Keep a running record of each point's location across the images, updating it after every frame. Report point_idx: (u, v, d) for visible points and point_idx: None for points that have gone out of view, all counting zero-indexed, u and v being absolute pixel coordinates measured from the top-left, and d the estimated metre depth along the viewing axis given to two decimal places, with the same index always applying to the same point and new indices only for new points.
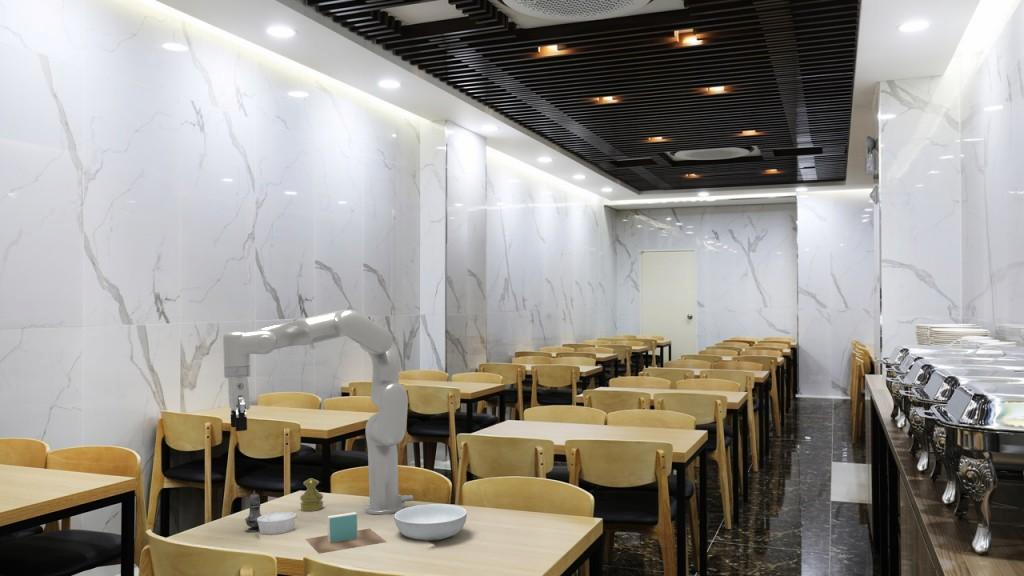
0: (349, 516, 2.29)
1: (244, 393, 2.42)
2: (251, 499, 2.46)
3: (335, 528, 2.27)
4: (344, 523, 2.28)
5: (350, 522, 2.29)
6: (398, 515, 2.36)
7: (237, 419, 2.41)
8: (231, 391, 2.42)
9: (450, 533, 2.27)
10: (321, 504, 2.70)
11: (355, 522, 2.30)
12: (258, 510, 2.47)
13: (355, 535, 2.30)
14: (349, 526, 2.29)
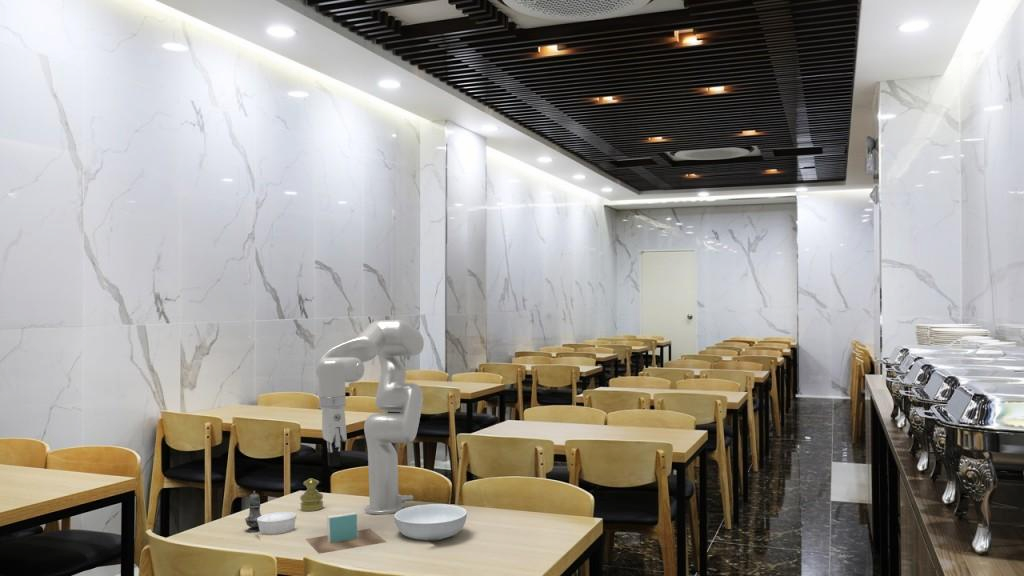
0: (349, 516, 2.29)
1: (341, 425, 2.32)
2: (251, 499, 2.46)
3: (335, 528, 2.27)
4: (344, 523, 2.28)
5: (350, 522, 2.29)
6: (398, 515, 2.36)
7: (331, 454, 2.35)
8: (327, 422, 2.32)
9: (450, 533, 2.27)
10: (321, 504, 2.70)
11: (355, 522, 2.30)
12: (258, 510, 2.47)
13: (355, 535, 2.30)
14: (349, 526, 2.29)
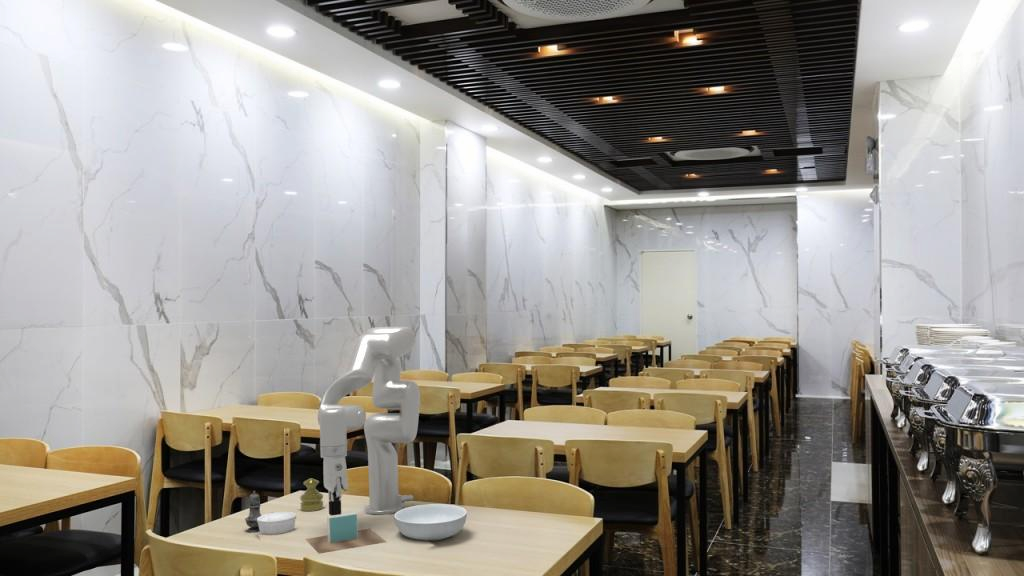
0: (349, 516, 2.29)
1: (342, 474, 2.32)
2: (251, 499, 2.46)
3: (335, 528, 2.27)
4: (344, 523, 2.28)
5: (350, 522, 2.29)
6: (398, 515, 2.36)
7: (332, 503, 2.34)
8: (329, 472, 2.32)
9: (450, 533, 2.27)
10: (321, 504, 2.70)
11: (355, 522, 2.30)
12: (258, 510, 2.47)
13: (355, 535, 2.30)
14: (349, 526, 2.29)
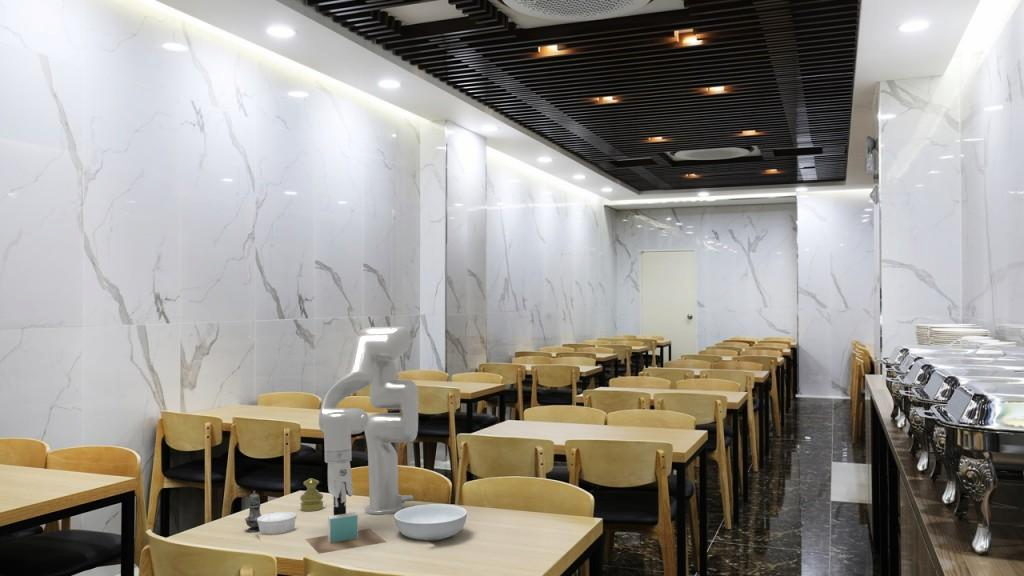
0: (350, 517, 2.28)
1: (347, 479, 2.27)
2: (251, 499, 2.46)
3: (335, 529, 2.27)
4: (345, 524, 2.28)
5: (351, 523, 2.29)
6: (398, 515, 2.36)
7: (336, 509, 2.30)
8: (333, 477, 2.28)
9: (450, 533, 2.27)
10: (321, 504, 2.70)
11: (356, 523, 2.29)
12: (258, 510, 2.47)
13: (355, 535, 2.30)
14: (349, 527, 2.29)
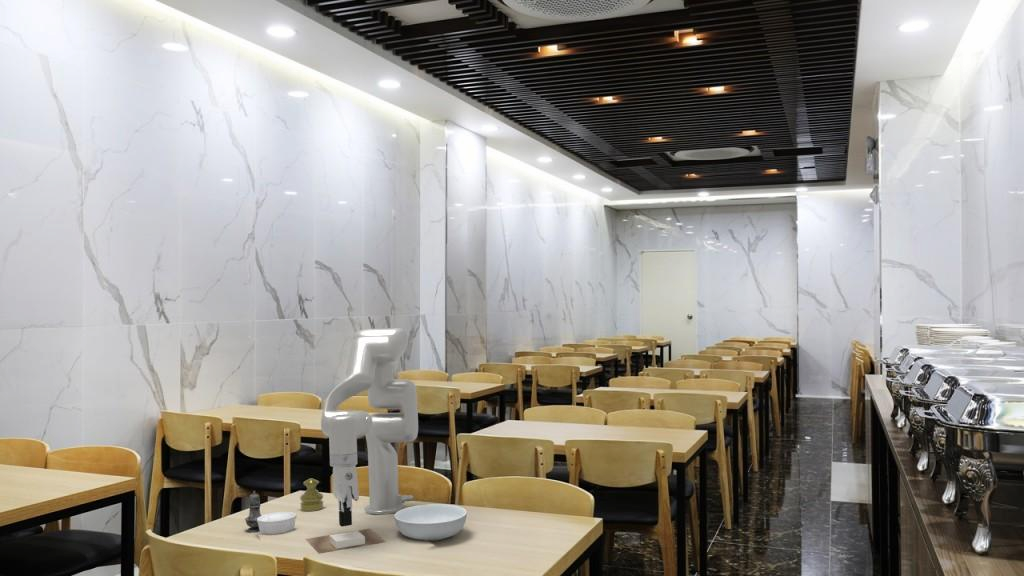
0: (356, 545, 2.23)
1: (353, 483, 2.23)
2: (251, 499, 2.46)
3: None
4: None
5: None
6: (398, 515, 2.36)
7: (342, 513, 2.25)
8: (339, 481, 2.23)
9: (450, 533, 2.27)
10: (321, 504, 2.70)
11: None
12: (258, 510, 2.47)
13: None
14: None
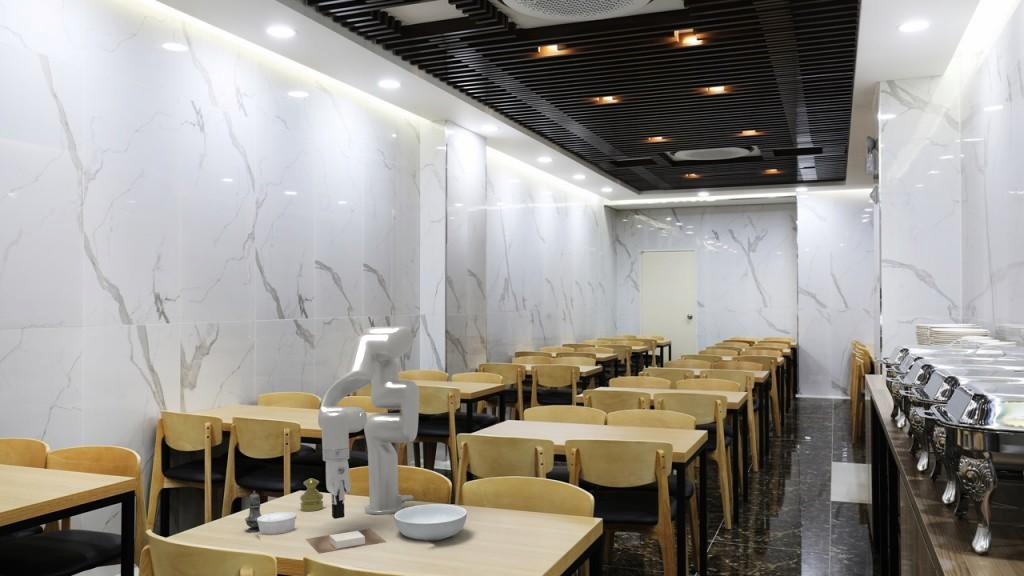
0: (356, 545, 2.23)
1: (345, 477, 2.30)
2: (251, 499, 2.46)
3: None
4: None
5: None
6: (398, 515, 2.36)
7: (335, 506, 2.33)
8: (331, 475, 2.30)
9: (450, 533, 2.27)
10: (321, 504, 2.70)
11: None
12: (258, 510, 2.47)
13: None
14: None
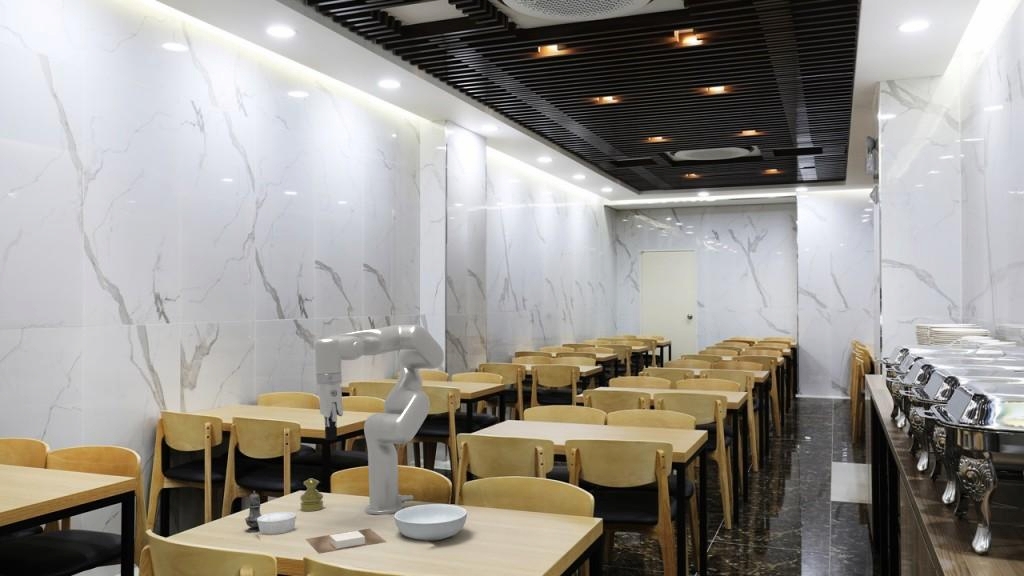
0: (356, 545, 2.23)
1: (338, 400, 2.43)
2: (251, 499, 2.46)
3: None
4: None
5: None
6: (398, 515, 2.36)
7: (328, 428, 2.45)
8: (324, 398, 2.43)
9: (450, 533, 2.27)
10: (321, 504, 2.70)
11: None
12: (258, 510, 2.47)
13: None
14: None
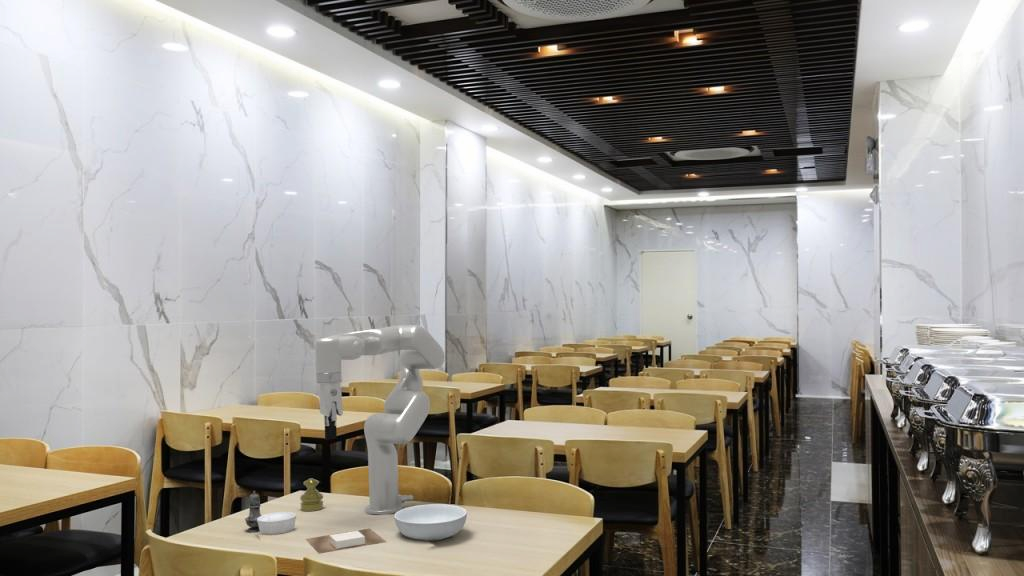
0: (356, 545, 2.23)
1: (337, 399, 2.43)
2: (251, 499, 2.46)
3: None
4: None
5: None
6: (398, 515, 2.36)
7: (327, 427, 2.45)
8: (324, 397, 2.43)
9: (450, 533, 2.27)
10: (321, 504, 2.70)
11: None
12: (258, 510, 2.47)
13: None
14: None
